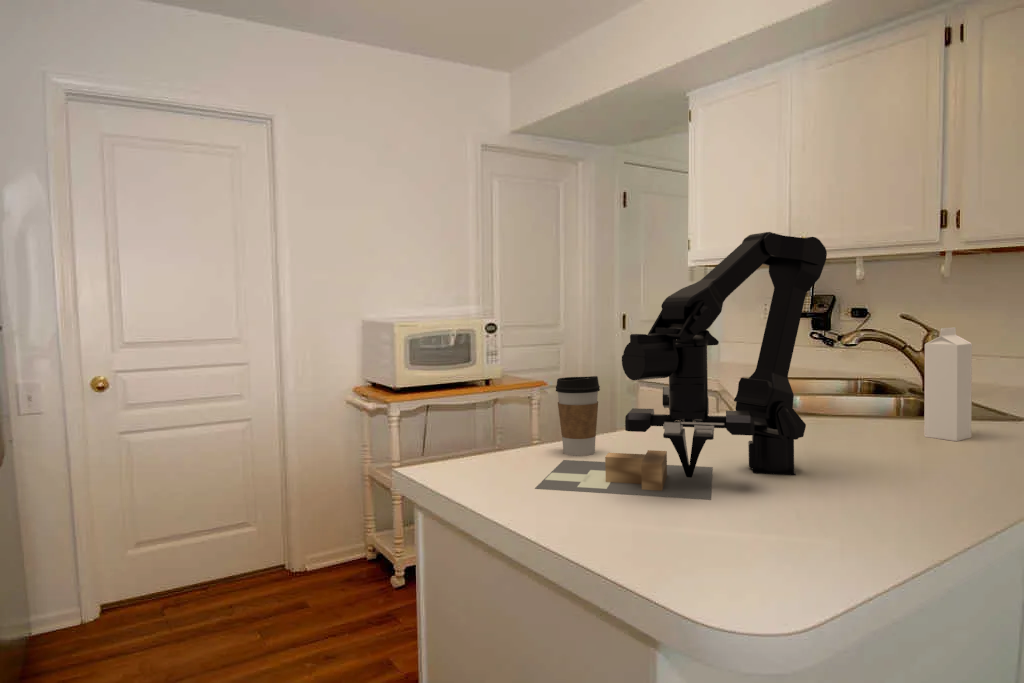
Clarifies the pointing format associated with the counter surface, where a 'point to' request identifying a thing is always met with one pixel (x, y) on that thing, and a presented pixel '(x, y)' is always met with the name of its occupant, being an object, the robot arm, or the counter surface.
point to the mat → (594, 480)
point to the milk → (948, 387)
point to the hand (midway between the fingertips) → (689, 476)
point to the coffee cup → (578, 414)
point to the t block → (638, 469)
